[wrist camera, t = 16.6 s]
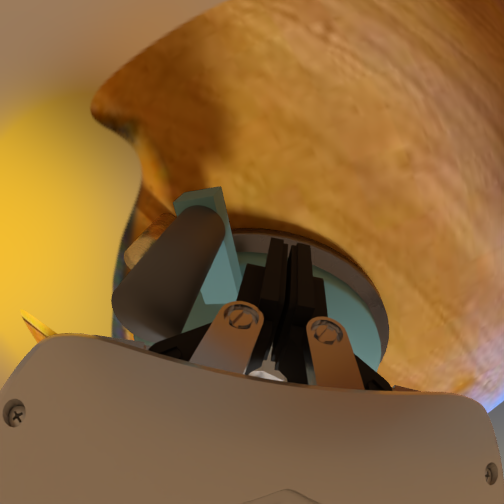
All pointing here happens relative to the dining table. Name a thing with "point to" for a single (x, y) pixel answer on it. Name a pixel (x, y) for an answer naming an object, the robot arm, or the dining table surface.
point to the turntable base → (260, 243)
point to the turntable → (216, 282)
